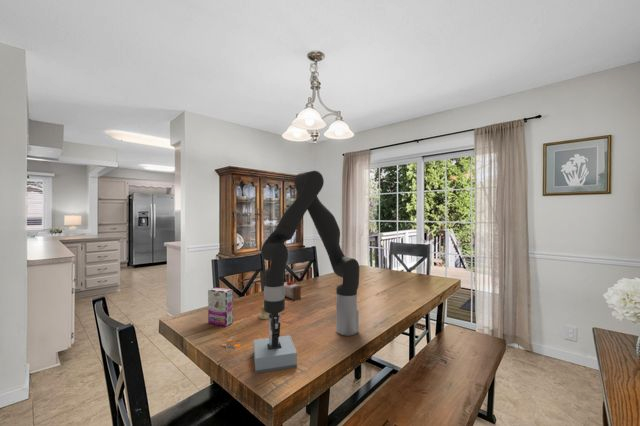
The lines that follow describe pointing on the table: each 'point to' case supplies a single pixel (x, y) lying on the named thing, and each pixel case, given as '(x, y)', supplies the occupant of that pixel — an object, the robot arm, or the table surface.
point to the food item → (292, 290)
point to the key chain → (229, 344)
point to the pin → (271, 339)
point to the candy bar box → (220, 306)
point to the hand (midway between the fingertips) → (274, 344)
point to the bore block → (274, 355)
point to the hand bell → (263, 314)
